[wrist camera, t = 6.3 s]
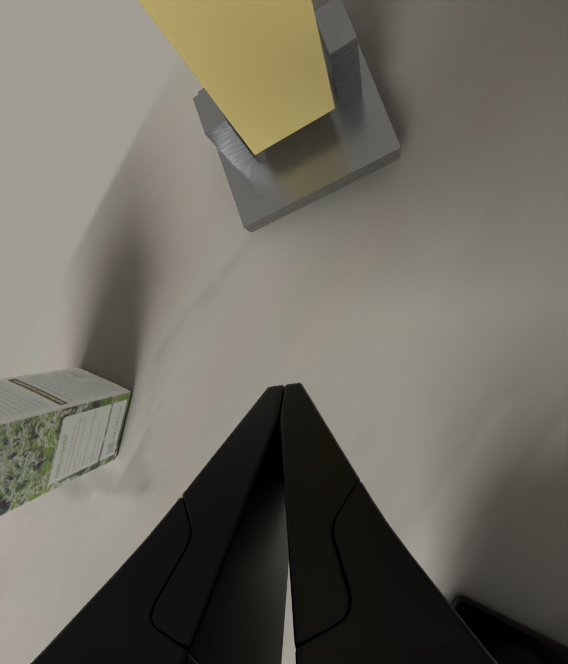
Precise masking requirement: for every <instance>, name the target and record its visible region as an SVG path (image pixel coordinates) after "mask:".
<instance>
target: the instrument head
mask: <svg viewBox="0 0 568 664" xmlns="http://www.w3.org/2000/svg"><path fill="white" fill-rule="evenodd" d="M138 1H139V2H140V4H141V5H142V6H143V8H144V9H145V10H146V12H147V13H148V14H149V16H150V17H151V18H152V20H153V21H154V22H155V24H156V25H157V26H158V28H159V29H160V30H161V31H162V33H163V34H164V36H165V37H166V38H167V39H168V41H169V42H170V43H171V45H172V46H173V47H174V49H175V50H176V51H177V53H178V54H179V55H180V57H181V58H182V59H183V61H184V62H185V63H186V65H187V66H188V67H189V69H190V70H191V71H192V73H193V74H194V75H195V77H196V78H197V79H198V81H199V82H200V83H201V85H202V86H203V87H204V89H205V90H206V91H207V92H208V94H209V95H210V96H211V98H212V99H213V100H214V102H215V103H216V104H217V106H218V107H219V108H220V110H221V111H222V112H223V114H224V115H225V116H226V118H227V119H228V120H229V122H230V123H231V124H232V126H233V127H234V128H235V130H236V131H237V132H238V134H239V135H240V136H241V137H242V139H243V140H244V141H245V143H246V144H247V145H248V147H249V148H250V149H251V151H252V152H253V153H254V155H256V154H258V153H259V152H261V151H263V150H265V149H266V148H268V147H270V146H271V145H273V144H275V143H277V142H278V141H280V140H282V139H283V138H285V137H287V136H289V135H290V134H292V133H294V132H295V131H297V130H299V129H301V128H302V127H304V126H306V125H307V124H309V123H311V122H313V121H314V120H316V119H318V118H319V117H321V116H323V115H325V114H326V113H328V112H330V111H332V110H333V109H335V106H334V101H333V97H332V92H331V88H330V83H329V78H328V74H327V69H326V64H325V60H324V55H323V51H322V46H321V41H320V37H319V32H318V28H317V23H316V18H315V14H314V9H313V4H312V0H138Z"/></svg>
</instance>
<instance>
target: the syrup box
mask: <svg viewBox="0 0 568 664" xmlns="http://www.w3.org/2000/svg"><path fill="white" fill-rule="evenodd" d="M130 395H131V391H129V390H127V389H125V388H123V387H121V386H119V385H117V384H115V383H113V382H111V381H108V380H106V379H104V378H102V377H99V376H97V375H95V374H92V373H90V372H88V371H86V370H83V369H81V368H72V369H66V370H59V371H53V372H47V373H41V374H33V375H26V376H19V377H12V378H4V379H0V515H3V514H5V513H7V512H9V511H11V510H13V509H15V508H17V507H19V506H21V505H23V504H25V503H27V502H29V501H31V500H33V499H35V498H37V497H39V496H41V495H43V494H45V493H47V492H49V491H51V490H53V489H55V488H57V487H59V486H61V485H63V484H65V483H67V482H69V481H72V480H74V479H76V478H78V477H80V476H82V475H84V474H86V473H88V472H90V471H91V470H93V469H96V468H98V467H100V466H102V465H104V464H106V463H108V462H110V461H112V460H114V459H115V458H116V454H117V450H118V446H119V441H120V437H121V433H122V429H123V425H124V421H125V416H126V412H127V408H128V404H129V400H130Z"/></svg>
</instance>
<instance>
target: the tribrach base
mask: <svg viewBox="0 0 568 664" xmlns="http://www.w3.org/2000/svg"><path fill="white" fill-rule="evenodd" d="M314 14H315V18H316V23H317V28H318V32H319V37H320V41H321V46H322V51H323V55H324V60H325V64H326V69H327V74H328V78H329V83H330V88H331V92H332V97H333V101H334V106H335V109H333V110H332V111H330V112H328V113H326V114H325V115H323V116H321V117H319V118H318V119H316V120H314V121H313V122H311V123H309V124H307V125H306V126H304V127H302V128H301V129H299V130H297V131H295V132H294V133H292V134H290V135H289V136H287V137H285V138H283V139H282V140H280V141H278V142H277V143H275V144H273V145H271V146H270V147H268V148H266V149H265V150H263V151H261V152H259V153H258V154H256V155H254V153H253V152H252V151H251V149H250V148H249V147H248V145H247V144H246V143H245V141H244V140H243V139H242V137H241V136H240V135H239V134H238V132H237V131H236V130H235V128H234V127H233V126H232V124H231V123H230V122H229V120H228V119H227V118H226V116H225V115H224V114H223V112H222V111H221V110H220V108H219V107H218V106H217V104H216V103H215V102H214V100H213V99H212V98H211V96H210V95H209V94H208V92H207V91H206V90H205V89H204V88H203V89H202V90H200V91H199V92H198V94H199V95H197V96H196V97H194V98H193V100H194V103H195V106H196V109H197V111H198V114H199V117H200V120H201V123H202V126H203V129H204V132H205V135H206V136H207V137H208V138H209V139H210V140H211V141H212V142H213V143H214V144H215V146H216V147H217V150H218V153H219V156H220V159H221V162H222V165H223V167H224V170H225V173H226V176H227V179H228V182H229V185H230V188H231V191H232V194H233V197H234V200H235V203H236V205H237V208H238V211H239V214H240V217H241V220H242V223H243V226H244V228H245V229H247V230H248V231H250V232H253V231H255V230H257V229H259V228H261V227H263V226H265V225H267V224H269V223H271V222H273V221H275V220H277V219H279V218H281V217H283V216H285V215H287V214H289V213H291V212H293V211H295V210H297V209H299V208H301V207H303V206H305V205H307V204H309V203H311V202H313V201H315V200H317V199H319V198H321V197H323V196H325V195H327V194H329V193H331V192H333V191H335V190H337V189H339V188H341V187H343V186H345V185H347V184H349V183H351V182H353V181H355V180H357V179H359V178H361V177H363V176H365V175H367V174H369V173H371V172H373V171H375V170H377V169H379V168H381V167H383V166H385V165H387V164H389V163H391V162H393V161H395V160H397V159H399V158H400V153H401V146H400V144H399V141H398V139H397V136H396V134H395V132H394V129H393V127H392V124H391V122H390V119H389V117H388V114H387V112H386V109H385V107H384V104H383V102H382V100H381V97H380V95H379V92H378V90H377V87H376V85H375V82H374V80H373V77H372V75H371V73H370V70H369V68H368V65H367V63H366V60H365V58H364V55H363V53H362V50H361V48H360V45H359V43H358V40H357V35H356V33H355V30H354V28H353V25H352V23H351V20H350V18H349V16H348V13H347V11H346V8H345V6H344V3H343V1H342V0H330V1H328V2H327V3H325V4H324V5H322V6H321V7H320V8H318V9H317V10H315V11H314Z"/></svg>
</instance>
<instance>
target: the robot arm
mask: <svg viewBox="0 0 568 664" xmlns="http://www.w3.org/2000/svg"><path fill="white" fill-rule="evenodd" d="M288 564H289V567H290V582H291V597H292V612H293V627H294V642H295V648H296V664H568V648H566V647H564V646H562V645H560V644H558V643H556V642H554V641H552V640H550V639H548V638H546V637H544V636H542V635H540V634H538V633H536V632H534V631H532V630H530V629H528V628H527V627H525V626H523V625H521V624H519V623H517V622H515V621H513V620H511V619H509V618H507V617H505V616H503V615H501V614H499V613H497V612H495V611H493V610H491V609H489V608H487V607H485V606H483V605H481V604H479V603H477V602H475V601H473V600H471V599H469V598H467V597H465V596H457V597H455V598H454V600H453V602H452V604H450V603H449V602H448V601H447V599H446V598H445V597H444V596H443V594H442V593H441V592H440V590H439V589H438V588H437V587H436V585H435V584H434V583H433V582H432V580H431V579H430V578H429V577H428V575H427V574H426V573H425V571H424V570H423V569H422V568H421V566H420V565H419V564H418V563H417V561H416V560H415V559H414V558H413V556H412V555H411V554H410V552H409V551H408V550H407V548H406V547H405V546H404V544H403V543H402V542H401V540H400V539H399V537H398V536H397V535H396V533H395V532H394V531H393V529H392V528H391V527H390V525H389V524H388V522H387V521H386V519H385V518H384V516H383V515H382V513H381V512H380V510H379V509H378V507H377V506H376V504H375V503H374V501H373V500H372V498H371V496H370V495H369V493H368V491H367V490H366V488H365V487H364V485H363V483H362V482H360V479H359V477H358V475H357V474H356V472H355V471H354V469H353V467H352V466H351V464H350V462H349V461H348V459H347V457H346V456H345V454H344V452H343V451H342V449H341V448H340V446H339V444H338V443H337V441H336V439H335V438H334V436H333V434H332V433H331V431H330V429H329V428H328V426H327V425H326V423H325V421H324V420H323V418H322V416H321V415H320V413H319V411H318V410H317V408H316V406H315V405H314V403H313V402H312V400H311V398H310V397H309V395H308V393H307V392H306V390H305V388H304V387H303V385H302V384H301V383H294V384H287V385H286V386H285V387H284V386H283V385H279V386H272V387H268V388H267V389H266V391H265V392H264V393H263V394H262V396H261V397H260V398H259V399H258V401H257V402H256V403H255V404H254V406H253V407H252V408H251V409H250V411H249V412H248V413H247V414H246V416H245V417H244V418H243V419H242V421H241V422H240V423H239V424H238V426H237V427H236V428H235V429H234V431H233V432H232V433H231V434H230V436H229V437H228V438H227V439H226V441H225V442H224V443H223V444H222V446H221V447H220V448H219V449H218V451H217V452H216V453H215V454H214V456H213V457H212V458H211V459H210V461H209V462H208V463H207V464H206V466H205V467H204V468H203V469H202V471H201V472H200V473H199V475H198V476H197V477H196V478H195V480H194V481H193V482H192V483H191V485H190V486H189V487H188V488H187V490H186V491H185V492H184V493H183V498H179V499H178V501H177V502H176V503H175V504H174V506H173V507H172V508H171V509H170V511H169V512H168V513H167V514H166V516H165V517H164V518H163V519H162V520H161V522H160V523H159V524H158V525H157V526H156V528H155V529H154V530H153V531H152V532H151V534H150V535H149V536H148V537H147V538H146V540H145V541H144V542H143V543H142V544H141V545H140V546H139V547H138V548H137V550H136V551H135V552H134V553H133V554H132V555H131V556H130V557H129V559H128V560H127V561H126V562H125V563H124V564H123V565H122V566H121V567H120V569H119V570H118V571H117V572H116V573H115V574H114V575H113V576H112V577H111V578H110V579H109V580H108V582H107V583H106V584H105V585H104V586H103V587H102V588H101V589H100V590H99V591H98V592H97V593H96V594H95V596H94V597H93V598H92V599H91V600H90V601H89V602H88V603H87V604H86V605H85V606H84V607H83V608H82V609H81V611H80V612H79V613H78V614H77V615H76V616H75V617H74V618H73V619H72V620H71V621H70V622H69V623H68V625H67V626H66V627H65V628H64V629H63V630H62V631H61V632H60V633H59V634H58V635H57V636H56V637H55V639H54V640H53V641H52V642H51V643H50V644H49V645H48V646H47V647H46V648H45V649H44V650H43V651H42V652H41V653H40V655H39V656H38V657H37V658H36V659H35V660H34V661H33V662H32V663H31V664H281V660H282V647H283V633H284V619H285V605H286V592H287V578H288ZM461 607H466V608H468V610H465V611H464V610H461Z"/></svg>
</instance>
